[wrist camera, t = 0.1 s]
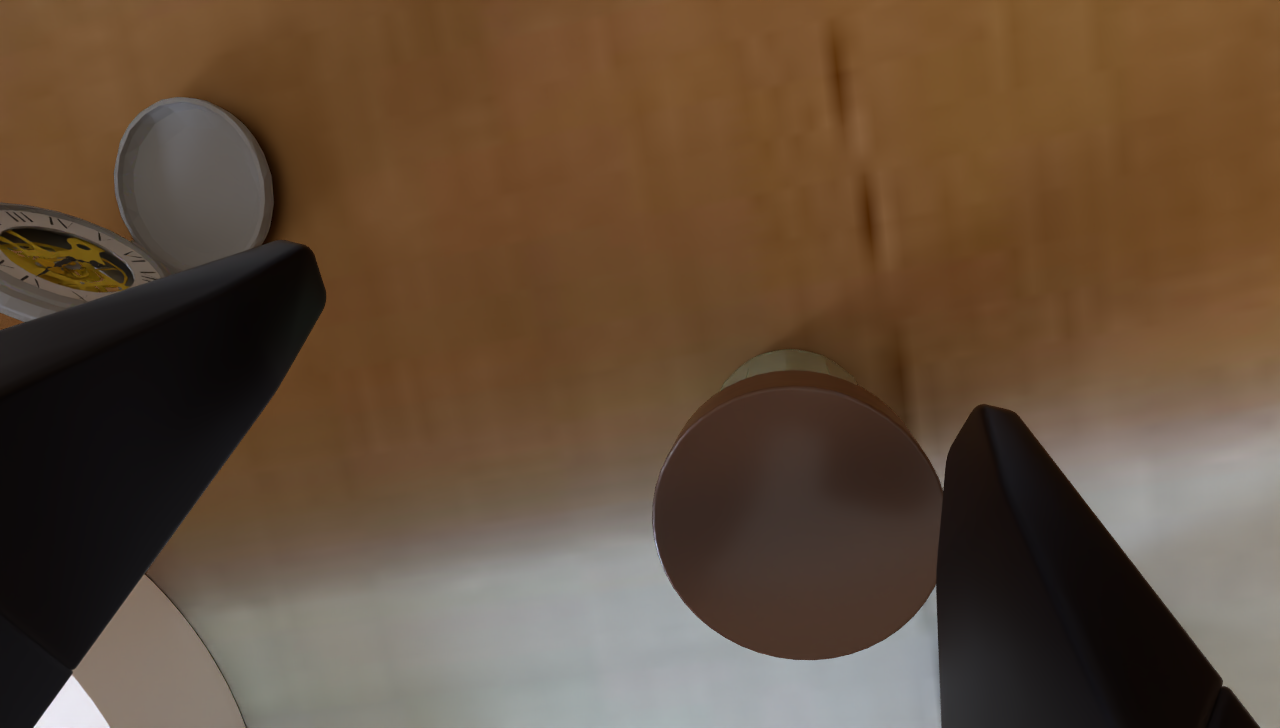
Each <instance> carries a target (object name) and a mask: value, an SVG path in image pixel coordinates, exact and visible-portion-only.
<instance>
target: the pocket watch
mask: <svg viewBox="0 0 1280 728" xmlns="http://www.w3.org/2000/svg"><path fill="white" fill-rule="evenodd" d="M114 183H115V195H116V199H117V203H118V206H119V210H120V214H121V217H122V219H123V221H124V223H125V224H126V226H127V228H128V230H129V232H130V233H131V235H132V237H133V239H134V241H133V240H132V241H128V240H126V239H125V238H123V237H121V236H119V235H117V234H116V233H114V232H112V231H110V230H108V229H105V228H103V227H100V226H98V225H95V224H93V223H90V222H88V221H85V220H83V219H80V218H77V217H74V216H70V215H67V214H64V213H61V212H58V211H53V210H49V209H44V208H39V207H34V206H29V205H20V204H10V203H0V313H3V314H5V315H8V316H10V317H13V318H15V319H18V320H21V321H23V322H27V321H30V320H33V319H36V318H40V317H43V316H46V315H49V314H52V313H55V312H58V311H61V310H64V309H67V308H70V307H73V306H76V305H79V304H83V303H86V302H89V301H92V300H95V299H98V298H101V297H104V296H107V295H110V294H113V293H116V292H108V291H107V289H106V288H104V287H111V288H116V287H118V288H119V291H122V290H125V289H129V288H132V287H135V286H138V285H141V284H144V283H147V282H150V281H153V280H156V279H159V278H162V277H165V276H168V275H172V274H175V273H178V272H181V271H184V270H187V269H190V268H193V267H196V266H199V265H202V264H205V263H208V262H211V261H215V260H218V259H221V258H224V257H227V256H230V255H233V254H236V253H239V252H242V251H245V250H248V249H251V248H254V247H257V246H261V245H262V243H263V242H264V240H265V238H266V236H267V234H268V232H269V229H270V225H271V219H272V212H273V206H274V196H273V185H272V176H271V173H270V170H269V167H268V164H267V161H266V158H265V155H264V153H263V151H262V149H261V148H260V146H259V144H258V142H257V140H256V139H255V137H254V136H253V135H252V134H251V132H250V131H249V130H248V129H247V127H246V126H245V125H244V124H243V123H242V122H241V121H239V120H238V119H237V118H236V117H235V116H234V115H233V114H231V113H229V112H228V111H226V110H224V109H222V108H220V107H219V106H216V105H214V104H212V103H210V102H208V101H206V100H200V99H195V98H184V97H176V98H170V99H164V100H161V101H159V102H157V103H155V104H153V105H151V106H149V107H148V108H146V109H145V110H143V111H142V112H140V113H139V114H138V115H137V116H136V117H135V119H134V120H133V121H132V122H131V123H130V124H129V126H128V128H127V130H126V132H125V134H124V135H123V137H122V139H121V141H120V145H119V150H118V155H117V160H116V165H115V169H114ZM11 250H15V251H21V250H22V251H23V252H22V251H21V252H22V253H20V252H19V253H18V252H17V253H14V252H12V251H11ZM17 254H22V255H24V256H25V257H26V258H25V257H22V256H19V255H17ZM28 256H29V258H28ZM34 256H38V257H39V258H36V257H34ZM33 257H34V258H35V260H33ZM79 262H80V263H79ZM71 269H72V270H71ZM73 269H74V270H73ZM74 271H76V272H78V273H79V274H80V275H81V276H78V275H77V274H76V273H75V272H74ZM95 272H96V273H97V274H98V275H99V276H101V275H102V276H101V277H102V278H103V279H104V280H103V281H101V282H94V281H100V280H101V278H100V277H99V276H98V275H97V274H96V273H95ZM71 273H72V274H71ZM100 274H101V275H100ZM95 286H97V287H98V288H99V289H97V288H95ZM99 291H100V292H101V293H99ZM119 291H117V292H119Z"/></svg>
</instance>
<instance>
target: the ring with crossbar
mask: <svg viewBox="0 0 1280 728" xmlns="http://www.w3.org/2000/svg"><path fill="white" fill-rule="evenodd" d="M72 671H73V674H72V675H71V677H70V678H69V679H68V681H67V682H66V683H65V685H64V686H63V688H62V689H61V690H60V692H59V693H58V695H57V696H56V697H55V699H54V700H53V701H52V703H51V704H50V706H49V707H48V708H47V710H46V711H45V712H44V714H43V715H42V717H41V718H40V719H39V721H38V722H37V724H36V725H35V726H34V728H246V727H245V724H244V722H243V719H242V717H241V714H240V712H239V709H238V706H237V704H236V702H235V700H234V698H233V696H232V694H231V691H230V689H229V687H228V685H227V683H226V681H225V680H224V678H223V676H222V674H221V672H220V670H219V668H218V667H217V665H216V663H215V662H214V660H213V658H212V657H211V655H210V653H209V652H208V650H207V649H206V647H205V646H204V644H203V643H202V641H201V640H200V638H199V637H198V635H197V634H196V632H195V631H194V630H193V628H192V627H191V626H190V624H189V623H188V622H187V621H186V619H185V618H184V617H183V615H182V614H181V613H180V612H179V611H178V609H177V608H176V607H175V606H174V605H173V603H172V602H171V601H170V600H169V599H168V598H167V597H166V595H165V594H164V593H163V592H162V591H161V590H160V589H159V588H158V587H157V586H156V585H155V584H154V583H153V582H152V581H151V580H150V579H149V578H148V577H147V576H146V575H145V574H144V575H143V577H142V578H141V579H140V581H139V582H138V583H137V585H136V586H135V588H134V589H133V590H132V592H131V593H130V594H129V596H128V597H127V599H126V600H125V601H124V603H123V604H122V605H121V607H120V608H119V610H118V611H117V612H116V614H115V615H114V617H113V618H112V619H111V621H110V622H109V623H108V625H107V626H106V628H105V629H104V630H103V632H102V633H101V634H100V636H99V637H98V639H97V640H96V641H95V643H94V644H93V645H92V647H91V648H90V650H89V651H88V652H87V654H86V655H85V657H84V658H83V659H82V661H81V662H80V663H79V665H78V666H77V668H76V669H74V670H72Z"/></svg>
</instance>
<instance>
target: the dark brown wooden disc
mask: <svg viewBox="0 0 1280 728" xmlns="http://www.w3.org/2000/svg"><path fill="white" fill-rule="evenodd" d="M942 501H943V489H942V486H941V484H940V481H939V478H938V476H937V474H936V472H935V470H934V468H933V466H932V464H931V462H930V460H929V459H928V457H927V456H926V454H925V453H924V451H923V450H922V448H921V447H920V445H919V444H918V442H917V441H916V439H915V438H914V437H913V435H912V434H911V432H910V431H909V429H908V428H907V427H906V425H905V424H904V422H903V421H902V420H901V419H900V418H899V417H898V416H897V415H896V414H895V412H894V411H893V410H892V409H891V408H890V407H888V406H887V405H886V404H885V403H884V402H882V401H881V400H880V399H879V398H878V397H876V396H874V395H873V394H871V393H870V392H868V391H867V390H865V389H863V388H862V387H860V386H857V385H855V384H853V383H851V382H849V381H847V380H844V379H841V378H838V377H835V376H832V375H828V374H823V373H818V372H813V371H800V370H786V371H773V372H768V373H763V374H758V375H755V376H752V377H749V378H746V379H743V380H740V381H738V382H736V383H734V384H732V385H730V386H728V387H726V388H724V389H723V390H721V391H720V392H718V393H717V394H715V395H714V396H712V397H711V398H710V399H709V400H707V401H706V402H705V403H704V404H703V405H702V406H701V407H699V409H698V410H697V411H696V412H695V413H694V414H693V415H692V417H691V418H690V419H689V420H688V422H687V423H686V425H685V426H684V428H683V429H682V431H681V432H680V434H679V436H678V438H677V439H676V441H675V443H674V445H673V447H672V449H671V451H670V452H669V454H668V456H667V458H666V460H665V463H664V465H663V467H662V469H661V471H660V474H659V478H658V481H657V484H656V487H655V493H654V499H653V512H652V524H653V533H654V540H655V544H656V548H657V552H658V556H659V559H660V561H661V564H662V566H663V569H664V571H665V573H666V575H667V577H668V579H669V581H670V582H671V584H672V586H673V588H674V589H675V591H676V592H677V593H678V595H679V596H680V598H681V599H682V600H683V602H684V603H685V604H686V605H687V606H688V607H689V608H690V610H691V611H692V612H693V613H694V614H695V615H696V616H697V617H698V618H699V619H701V620H702V621H703V622H704V623H705V624H706V625H708V626H709V627H710V628H711V629H713V630H714V631H716V632H717V633H719V634H720V635H722V636H723V637H725V638H727V639H729V640H731V641H732V642H734V643H736V644H738V645H740V646H742V647H745V648H748V649H750V650H753V651H756V652H758V653H762V654H766V655H770V656H774V657H778V658H786V659H793V660H820V659H830V658H836V657H840V656H845V655H849V654H853V653H855V652H858V651H861V650H864V649H866V648H869V647H871V646H873V645H875V644H877V643H879V642H881V641H883V640H885V639H886V638H888V637H889V636H890V635H892V634H893V633H895V632H896V631H898V630H899V629H900V628H902V627H903V626H904V625H905V624H906V623H907V622H908V621H909V620H910V619H911V618H912V617H914V615H915V614H916V613H917V612H918V611H919V609H920V608H921V607H922V606H923V604H924V603H925V602H926V600H927V599H928V597H929V595H930V594H931V592H932V590H933V589H934V587H935V585H936V570H937V556H938V545H939V534H940V523H941V512H942Z"/></svg>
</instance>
